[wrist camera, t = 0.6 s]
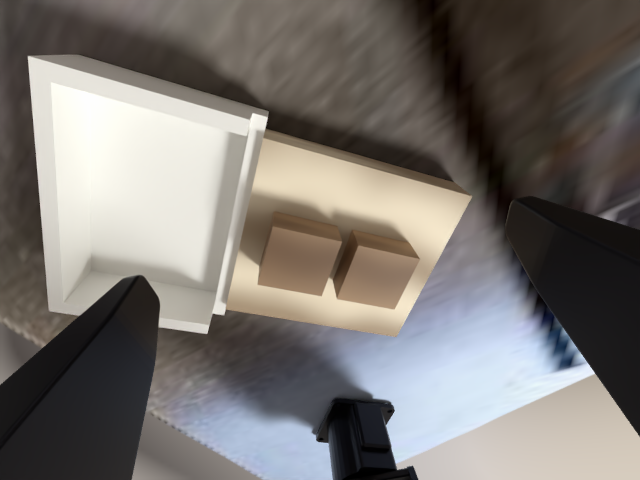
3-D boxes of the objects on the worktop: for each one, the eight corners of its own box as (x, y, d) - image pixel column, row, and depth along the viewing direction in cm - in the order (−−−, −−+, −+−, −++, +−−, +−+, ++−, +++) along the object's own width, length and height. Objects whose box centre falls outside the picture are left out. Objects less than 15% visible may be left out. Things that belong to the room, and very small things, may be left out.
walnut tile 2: (386, 290, 24) (394, 309, 22) (332, 280, 23) (336, 299, 21) (409, 242, 22) (420, 259, 20) (352, 229, 21) (358, 245, 20)
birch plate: (387, 315, 28) (396, 337, 26) (230, 287, 26) (225, 309, 23) (454, 182, 23) (472, 196, 21) (265, 128, 20) (263, 137, 18)
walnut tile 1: (318, 277, 23) (321, 296, 21) (259, 266, 22) (257, 284, 20) (337, 225, 21) (342, 241, 19) (273, 211, 20) (272, 226, 18)
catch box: (228, 297, 26) (219, 335, 23) (82, 272, 24) (48, 311, 20) (269, 111, 20) (266, 124, 16) (78, 54, 18) (27, 55, 14)
